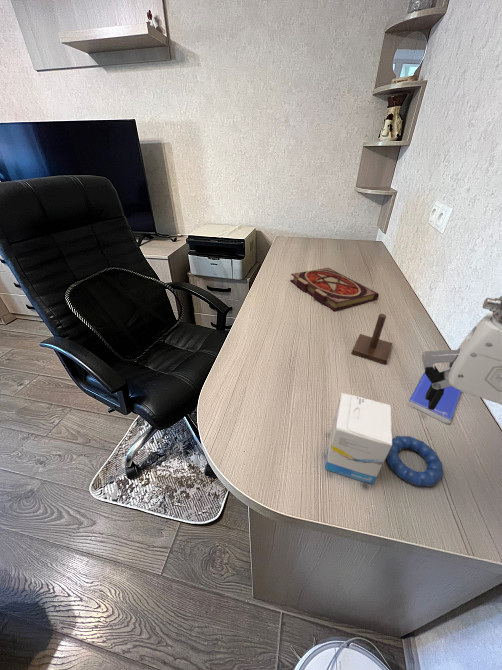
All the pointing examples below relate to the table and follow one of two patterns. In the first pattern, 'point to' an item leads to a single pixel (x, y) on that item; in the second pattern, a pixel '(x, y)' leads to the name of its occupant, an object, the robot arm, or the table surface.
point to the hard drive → (443, 407)
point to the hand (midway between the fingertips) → (467, 416)
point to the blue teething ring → (410, 475)
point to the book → (333, 288)
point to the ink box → (359, 438)
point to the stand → (373, 344)
